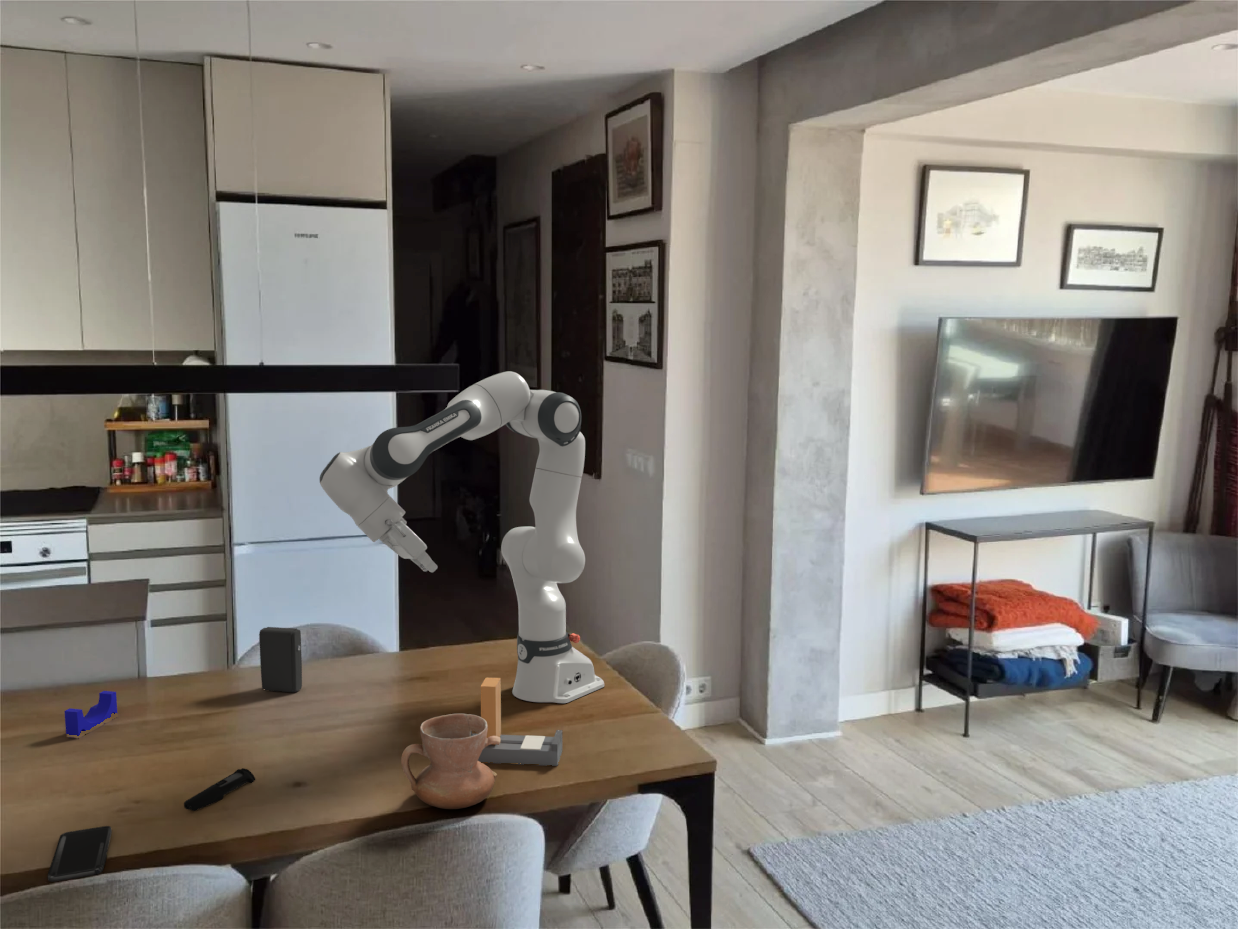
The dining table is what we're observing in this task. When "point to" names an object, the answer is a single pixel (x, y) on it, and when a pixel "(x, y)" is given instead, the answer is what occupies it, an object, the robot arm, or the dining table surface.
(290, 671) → the dark grey upright block
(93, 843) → the phone
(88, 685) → the dining table surface
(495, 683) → the switch tab
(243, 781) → the electric trimmer
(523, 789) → the dining table surface
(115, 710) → the blue cradle holder
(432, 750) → the ceramic jug
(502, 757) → the switch track
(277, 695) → the dining table surface
